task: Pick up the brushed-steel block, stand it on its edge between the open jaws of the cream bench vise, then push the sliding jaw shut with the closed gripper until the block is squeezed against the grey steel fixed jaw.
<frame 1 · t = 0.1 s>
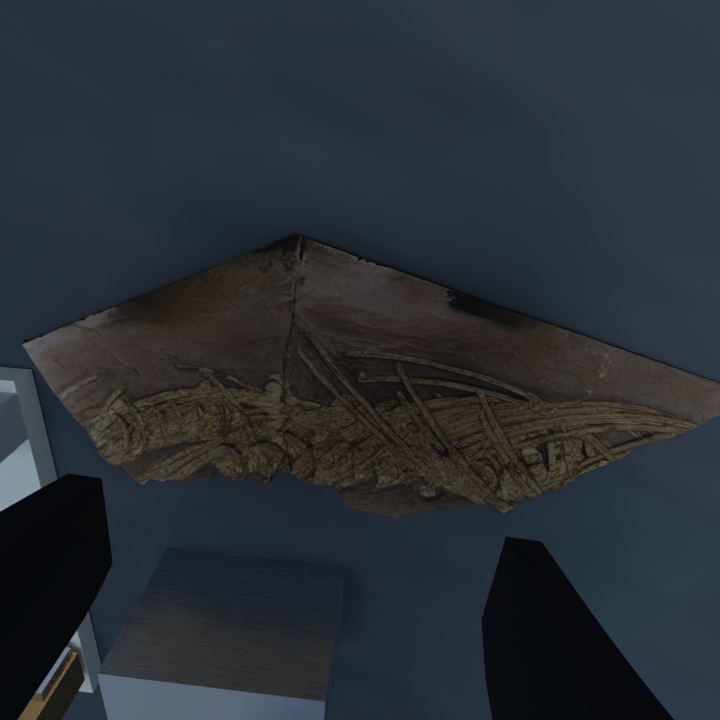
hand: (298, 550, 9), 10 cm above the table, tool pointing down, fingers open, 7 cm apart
wooden fragment: (369, 382, 20), on the table
steel block: (257, 587, 24), on the table
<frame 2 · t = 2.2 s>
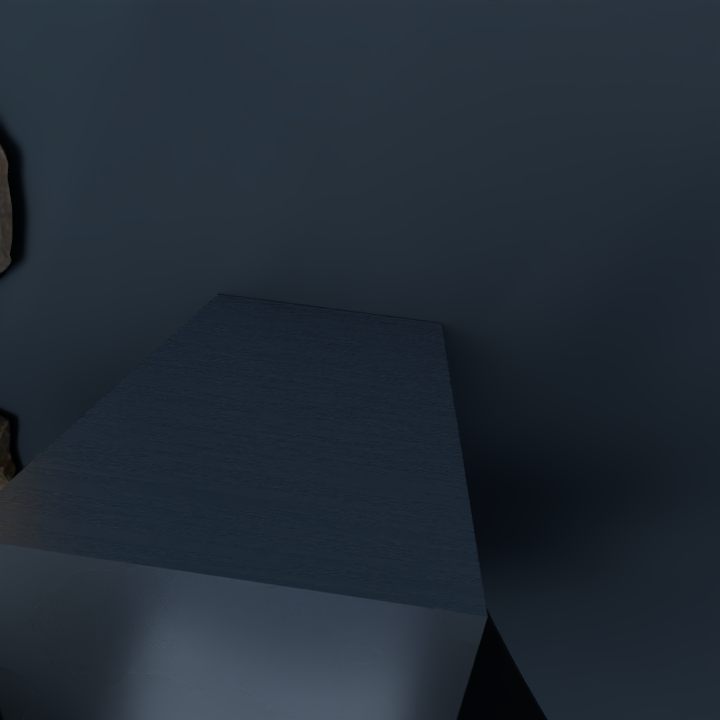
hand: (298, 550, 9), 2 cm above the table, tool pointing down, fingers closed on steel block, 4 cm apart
steel block: (313, 488, 11), on the table, touching gripper
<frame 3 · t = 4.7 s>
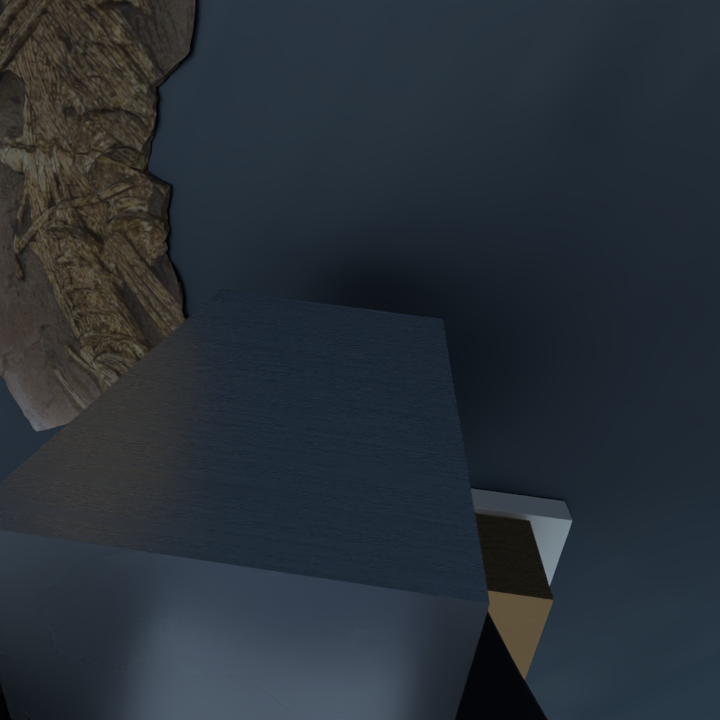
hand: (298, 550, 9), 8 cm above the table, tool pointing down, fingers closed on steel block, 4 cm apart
wooden fragment: (9, 23, 14), on the table
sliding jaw: (475, 649, 18), point 3 cm above the table, slide at 0.0 cm
vise base: (308, 558, 21), on the table
steel block: (314, 484, 11), point 7 cm above the table, touching gripper
when the fingers open (4 cm above the table, at t = 7.5 s): steel block stays where it is, resting on vise base.
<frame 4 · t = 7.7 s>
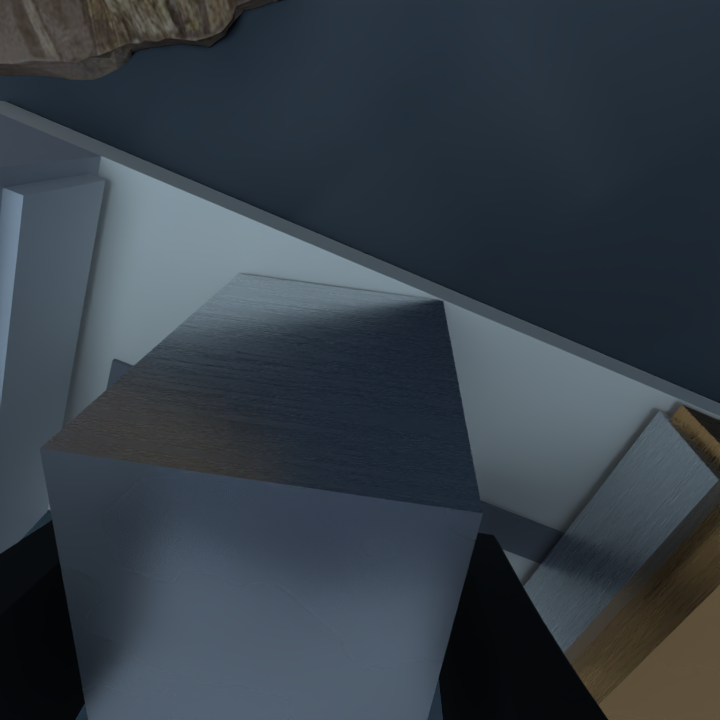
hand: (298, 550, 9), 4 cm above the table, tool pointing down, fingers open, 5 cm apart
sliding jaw: (617, 631, 11), point 3 cm above the table, slide at 0.0 cm
vise base: (347, 442, 13), on the table
steel block: (323, 457, 12), point 1 cm above the table, touching vise base
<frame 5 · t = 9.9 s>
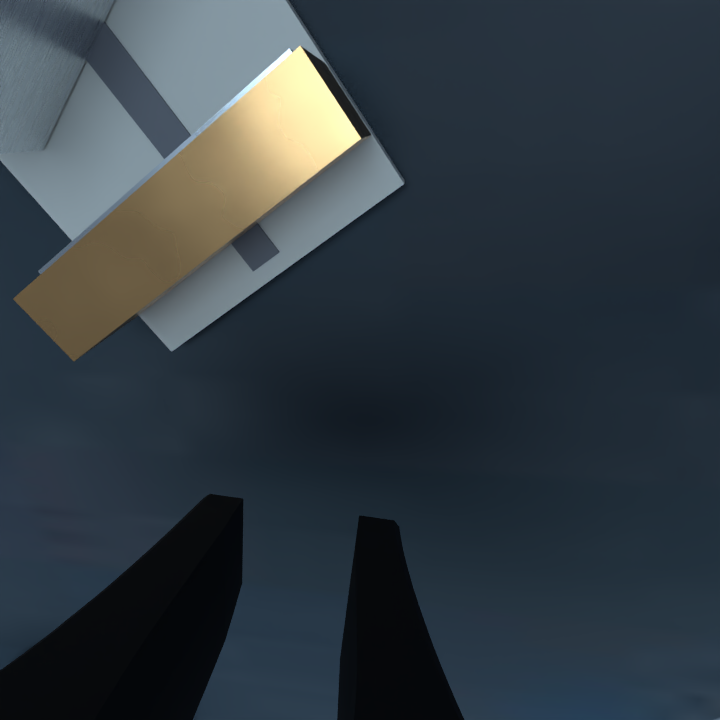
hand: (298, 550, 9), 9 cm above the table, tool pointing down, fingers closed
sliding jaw: (193, 209, 13), point 3 cm above the table, slide at 0.0 cm
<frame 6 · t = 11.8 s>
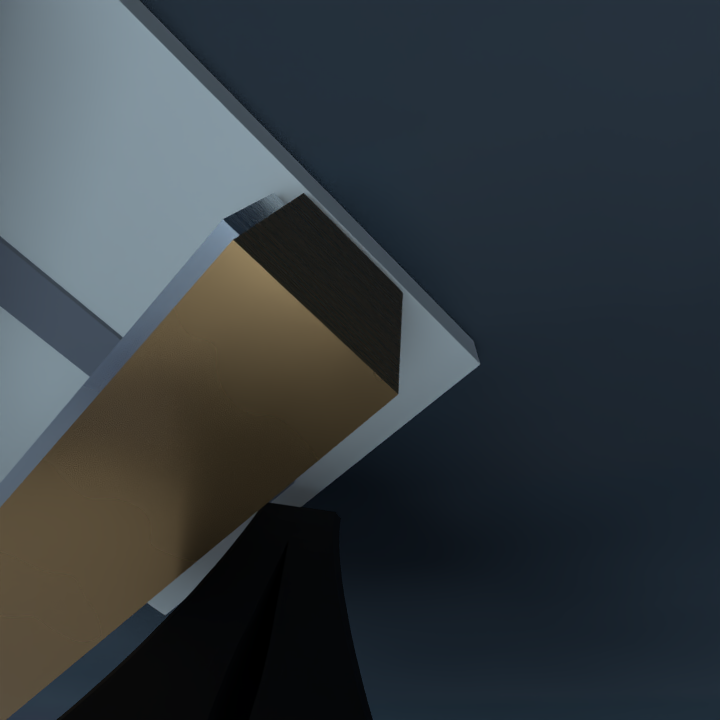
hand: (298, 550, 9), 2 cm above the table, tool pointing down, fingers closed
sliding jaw: (122, 476, 8), point 3 cm above the table, slide at 0.3 cm, touching gripper
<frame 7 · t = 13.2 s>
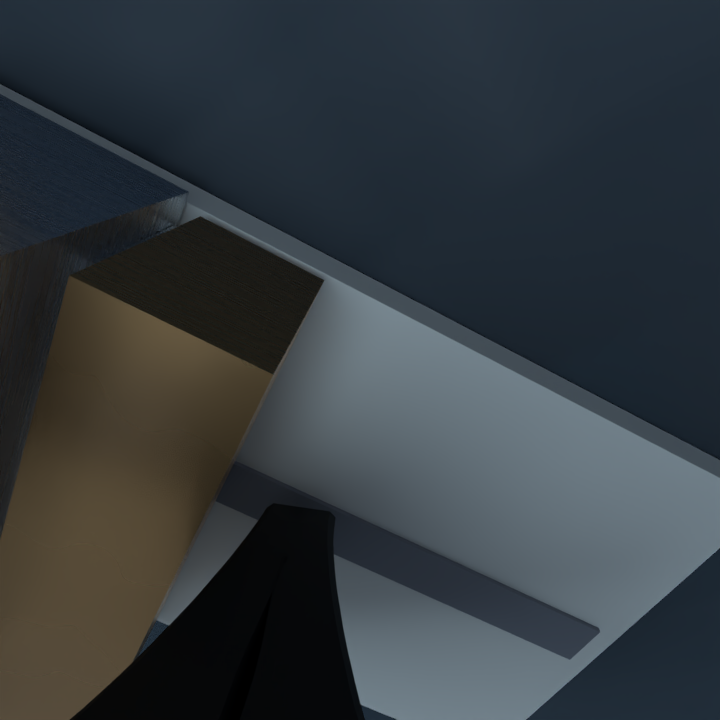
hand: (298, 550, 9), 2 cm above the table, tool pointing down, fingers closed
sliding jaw: (117, 525, 8), point 3 cm above the table, slide at 7.1 cm, touching gripper
vise base: (222, 440, 11), on the table
steel block: (7, 351, 9), point 1 cm above the table, touching vise base
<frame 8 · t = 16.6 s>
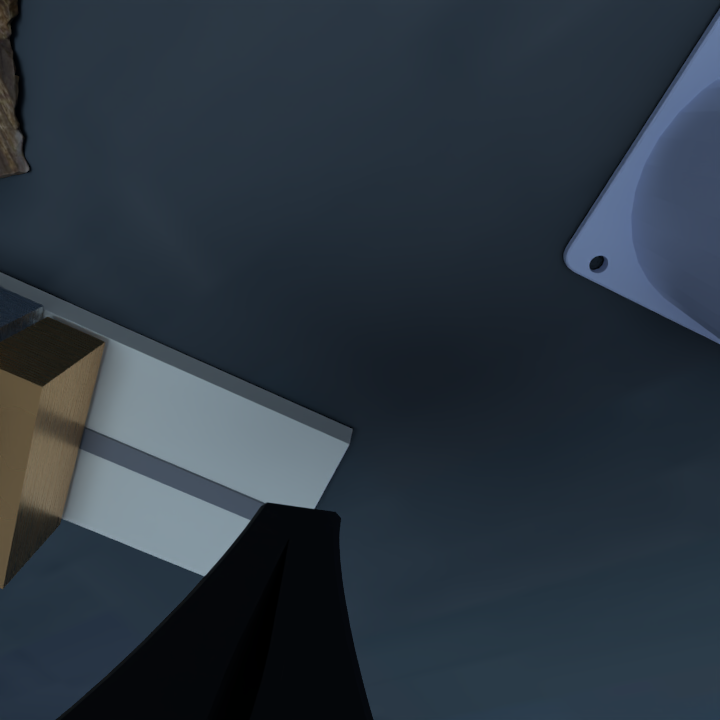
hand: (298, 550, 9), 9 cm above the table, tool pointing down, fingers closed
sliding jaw: (20, 455, 18), point 3 cm above the table, slide at 7.4 cm, touching steel block
vise base: (97, 422, 20), on the table
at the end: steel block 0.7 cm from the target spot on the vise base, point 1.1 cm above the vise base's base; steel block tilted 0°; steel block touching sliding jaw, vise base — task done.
